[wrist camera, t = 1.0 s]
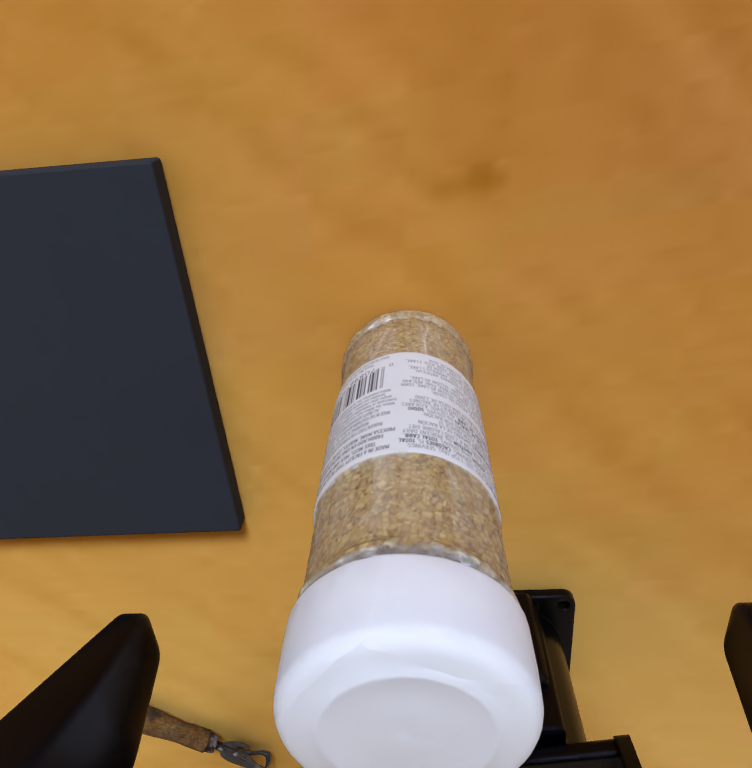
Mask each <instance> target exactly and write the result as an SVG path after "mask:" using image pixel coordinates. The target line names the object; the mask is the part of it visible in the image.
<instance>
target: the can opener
mask: <svg viewBox="0 0 752 768" xmlns="http://www.w3.org/2000/svg"><path fill="white" fill-rule="evenodd" d="M142 734H145V735H149V736H153V737H157V738H161V739H165V740H169V741H173V742H176V743H179V744H181V745H183V746H186V747H189V748H191V749H194V750H197V751H199V752H202V753H203V752H207V753H213V751H214V750H215V749H217V750H218V751H219V752H220V755H221V756H222V757H223V758H224V759H225V760H227V761H229V762H232V763H234V764H237V765H240V766H243V767H246V768H268V766H269V765H270V761H271V754H270V752H268V751H266V750H256V751H250V752H247V751H244V750H242V749H239V748H237V747H239V746H240V747H244V748H247V749H248V750H250V747H249V746H248V745H246V744H244V743H241V742H234V741H228V742H225V743H222V742H219V741H218V738H219V736H218V735H217V734H215V733H213V732H212V731H211V730H209V729H205V728H202V727H199V726H196V725H193V724H190V723H186V722H183V721H181V720H179V719H176V718H174V717H172V716H170V715H168V714H166V713H164V712H162V711H160V710H157V709H155V708H152V707H148V711H147V715H146V720H145V724H144V728H143V732H142ZM257 754H258V755H264V756H265V757H266V765H265V767H263V766H261V765H258V764H257V763H256V762H255V761H254V760H253V759H252V758H251V757H250V756H249V755H257ZM242 758H244V759H245V760H243V759H242Z"/></svg>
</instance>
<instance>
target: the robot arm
mask: <svg viewBox="0 0 752 768" xmlns="http://www.w3.org/2000/svg"><path fill="white" fill-rule="evenodd" d="M513 591H514V593H515V595H516V597H517V600H518V602H519V604H520V607H521V608H522V610H523V612H524V613H525V616H526V619H527V622H528V625H529V629H530V634H531V638H532V643H533V648H534V653H535V657H536V662H537V667H538V673H539V679H540V685H541V692H542V698H543V705H544V718H543V726H542V731H541V734H540V737H539V740H538V742H537V744H536V746H535V748H534V750H533V751H532V753H531V754H530V756H529V757H528V758H527V760H526V761H525V762H524V763H523V764H522V765H521V766H520V767H519V768H642V767H641V764H640V762H639V759H638V756H637V754H636V751H635V749H634V746H633V743H632V741H631V738H630V736H629V735H620V736H613V738H614V739H609V740H599V741H589V742H586V738H585V734H584V730H583V726H582V722H581V718H580V714H579V710H578V706H577V702H576V698H575V694H574V690H573V686H572V682H571V678H570V674H569V671H570V659H571V647H572V636H573V624H574V613H575V602H574V598H573V595H572V593H571V592H570V591H568V590H565V589H548V590H513ZM560 601H564V602H560ZM724 651H725V656H726V659H727V662H728V665H729V668H730V671H731V674H732V677H733V680H734V683H735V686H736V688H737V691H738V694H739V697H740V700H741V703H742V706H743V709H744V712H745V715H746V718H747V721H748V724H749V726H750V729H751V732H752V602H751V603H737V604H735V605H734V606H733V608H732V611H731V615H730V619H729V623H728V627H727V631H726V635H725V639H724ZM159 660H160V651H159V646H158V643H157V640H156V637H155V634H154V631H153V628H152V626H151V623H150V620H149V618H148V616H147V615H145V614H142V613H140V614H122V615H119V616H118V617H116V618H115V619H114V620H113V621H112V622H110V623H109V624H108V625H107V626H106V627H105V628H104V629H103V630H101V631H100V632H99V633H98V634H97V635H96V636H95V637H93V638H92V639H91V640H90V641H89V642H88V643H87V644H86V645H84V646H83V647H82V648H81V649H80V650H79V651H78V652H77V653H75V654H74V655H73V656H72V657H71V658H70V659H69V660H68V661H66V662H65V663H64V664H63V665H62V666H61V667H60V668H59V669H57V670H56V671H55V672H54V673H53V674H52V675H51V676H50V677H48V678H47V679H46V680H45V681H44V682H43V683H42V684H40V685H39V686H38V687H37V688H36V689H35V690H34V691H33V692H31V693H30V694H29V695H28V696H27V697H26V698H25V699H24V700H22V701H21V702H20V703H19V704H18V705H17V706H16V707H15V708H13V709H12V710H11V711H10V712H9V713H8V714H7V715H6V716H4V717H3V718H2V719H1V720H0V768H133V766H134V763H135V759H136V756H137V752H138V748H139V744H140V740H141V736H142V732H143V728H144V724H145V720H146V715H147V711H148V707H149V703H150V699H151V695H152V691H153V686H154V682H155V678H156V674H157V670H158V666H159Z"/></svg>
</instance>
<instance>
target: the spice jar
mask: <svg viewBox="0 0 752 768" xmlns="http://www.w3.org/2000/svg"><path fill="white" fill-rule="evenodd" d="M472 376H473V367H472V361H471V356H470V351H469V348H468V345H467V344H466V342H465V341H464V340H463V339H462V337H461V335H460V334H459V333H458V331H457V330H455V329H454V328H453V327H452V326H451V325H450V324H449V323H448V322H446V321H444V320H443V319H441V318H439V317H436V316H435V315H433V314H431V313H425V312H421V311H405V310H402V311H397V312H390V313H387V314H383V315H380V316H378V317H377V318H375V319H374V320H372V321H370V322H368V323H367V324H366V325H365V326H364V327H363V328H362V329H361V330H359V331H358V332H357V333H356V334H355V335H354V336H353V338H352V339H351V341H350V344H349V345H348V347H347V349H346V352H345V354H344V359H343V369H342V379H343V381H342V388H341V390H340V392H339V395H338V397H337V400H336V404H335V409H334V414H333V418H332V424H331V429H330V433H329V438H328V443H327V448H326V453H325V458H324V463H323V468H322V473H321V478H320V483H319V489H318V494H317V499H316V504H315V510H314V516H313V524H314V532H313V537H312V542H311V550H310V555H309V559H308V566H307V572H306V576H305V581H304V585H303V587H302V588H301V590H300V592H299V596H298V599H297V601H296V603H295V605H294V607H293V609H292V611H291V613H290V616H289V618H288V621H287V626H286V631H285V636H284V641H283V646H282V651H281V656H280V662H279V668H278V674H277V680H276V686H275V692H274V704H273V712H274V719H275V725H276V727H277V730H278V733H279V736H280V738H281V740H282V742H283V744H284V745H285V747H286V748H287V750H288V751H289V753H290V754H291V755H292V756H293V757H294V759H295V760H296V761H297V762H298V763H299V764H300V765H302V766H303V767H304V768H519V767H520V766H521V765H522V764H523V763H524V762H525V761H526V760H527V758H528V757H529V756H530V754H531V753H532V751H533V750H534V748H535V746H536V744H537V742H538V740H539V737H540V734H541V731H542V726H543V718H544V705H543V698H542V692H541V685H540V679H539V673H538V667H537V662H536V657H535V653H534V648H533V643H532V638H531V634H530V629H529V625H528V622H527V619H526V616H525V613H524V612H523V610H522V608H521V607H520V604H519V602H518V600H517V597H516V595H515V593H514V591H513V590H512V587H511V580H510V577H509V573H508V565H507V562H506V556H505V551H504V547H503V540H502V533H501V527H502V521H501V515H500V509H499V504H498V499H497V494H496V489H495V484H494V479H493V474H492V468H491V463H490V458H489V452H488V447H487V442H486V437H485V432H484V427H483V422H482V417H481V412H480V408H479V403H478V400H477V396H476V394H475V392H474V388H473V382H472Z"/></svg>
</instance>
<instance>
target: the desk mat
mask: <svg viewBox="0 0 752 768" xmlns="http://www.w3.org/2000/svg"><path fill="white" fill-rule="evenodd" d="M243 521H244V513H243V509H242V505H241V501H240V496H239V492H238V488H237V484H236V479H235V475H234V471H233V467H232V462H231V458H230V454H229V450H228V445H227V441H226V437H225V433H224V428H223V424H222V420H221V416H220V412H219V407H218V403H217V399H216V395H215V390H214V386H213V382H212V378H211V373H210V369H209V365H208V361H207V356H206V352H205V348H204V344H203V339H202V335H201V331H200V327H199V322H198V318H197V314H196V310H195V305H194V301H193V297H192V293H191V288H190V284H189V280H188V276H187V271H186V267H185V263H184V259H183V254H182V250H181V246H180V242H179V238H178V233H177V229H176V225H175V221H174V216H173V212H172V208H171V204H170V199H169V195H168V191H167V187H166V182H165V178H164V174H163V170H162V165H161V161H160V159H159V158H157V157H155V158H144V159H132V160H120V161H109V162H97V163H85V164H73V165H62V166H50V167H38V168H27V169H15V170H3V171H0V539H16V538H44V537H72V536H100V535H128V534H156V533H184V532H212V531H239V530H241V527H242V524H243Z"/></svg>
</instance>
